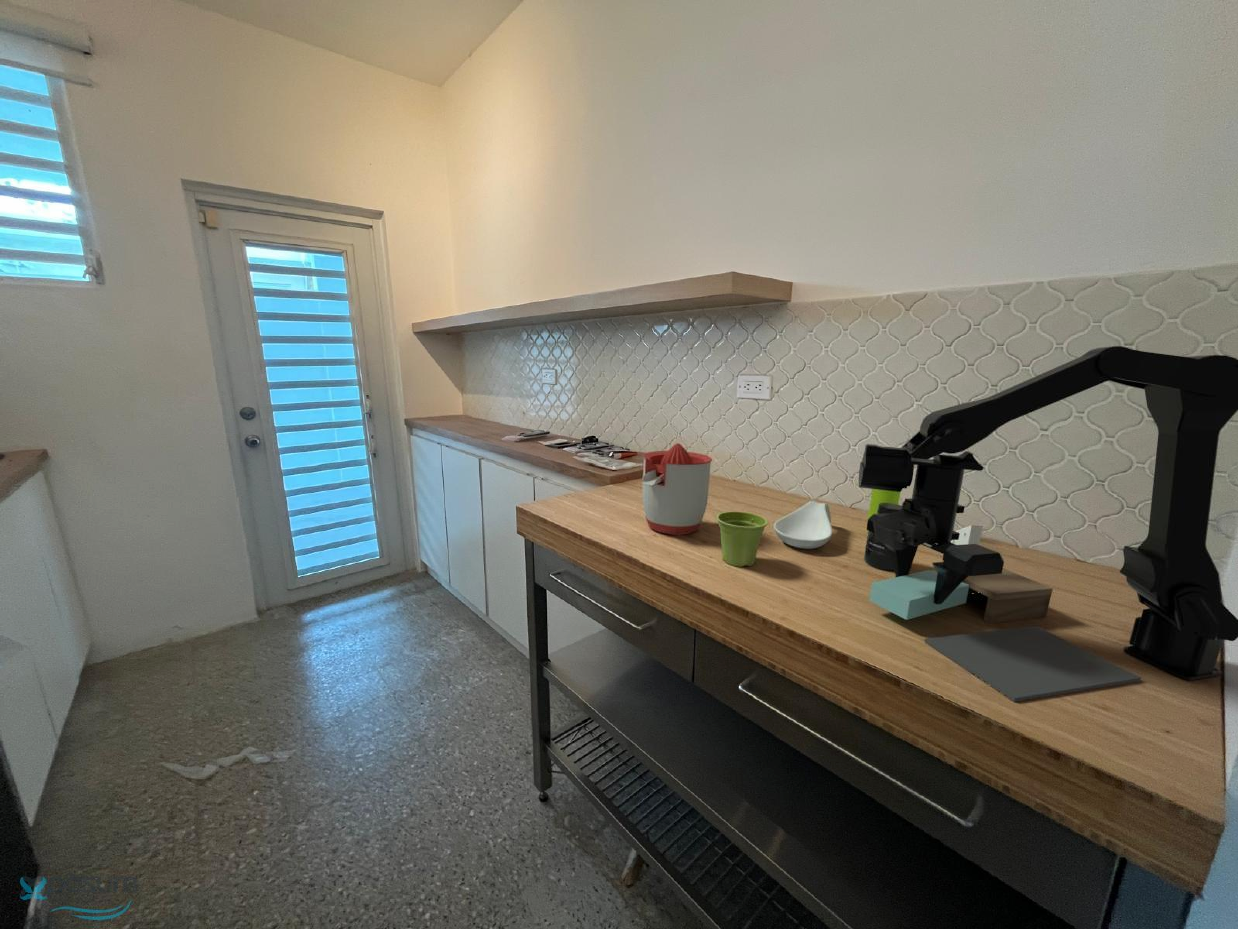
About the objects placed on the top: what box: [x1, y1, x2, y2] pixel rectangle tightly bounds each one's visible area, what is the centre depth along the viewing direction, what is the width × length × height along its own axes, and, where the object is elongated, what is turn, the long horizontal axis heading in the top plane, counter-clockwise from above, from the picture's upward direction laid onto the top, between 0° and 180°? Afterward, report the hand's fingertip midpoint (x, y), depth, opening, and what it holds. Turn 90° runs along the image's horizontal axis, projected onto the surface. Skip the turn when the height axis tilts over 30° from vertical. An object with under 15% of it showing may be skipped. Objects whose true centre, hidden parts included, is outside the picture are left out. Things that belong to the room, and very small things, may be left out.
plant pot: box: [716, 510, 768, 568], centre depth 89 cm, size 9×9×9 cm
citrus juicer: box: [641, 443, 713, 536], centre depth 105 cm, size 16×17×20 cm
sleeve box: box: [963, 567, 1053, 624], centre depth 75 cm, size 9×11×5 cm
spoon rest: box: [773, 500, 833, 550], centre depth 104 cm, size 24×12×7 cm, turn 145°
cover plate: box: [869, 569, 969, 620], centre depth 71 cm, size 6×14×3 cm, turn 114°
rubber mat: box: [923, 625, 1142, 703], centre depth 61 cm, size 12×20×1 cm, turn 103°
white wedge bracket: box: [951, 524, 984, 545], centre depth 87 cm, size 4×10×9 cm, turn 169°
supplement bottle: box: [863, 503, 902, 572], centre depth 89 cm, size 7×7×12 cm
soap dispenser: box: [866, 447, 901, 524], centre depth 110 cm, size 6×7×20 cm
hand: (918, 593), depth 71 cm, fingers closed on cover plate, 6 cm apart
